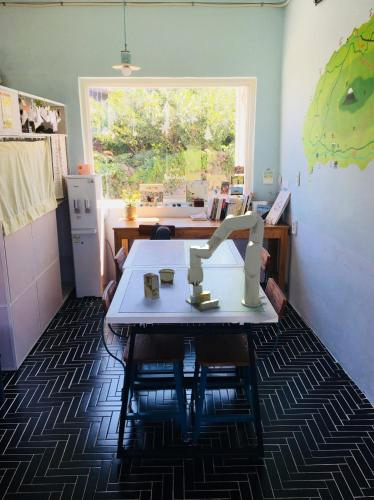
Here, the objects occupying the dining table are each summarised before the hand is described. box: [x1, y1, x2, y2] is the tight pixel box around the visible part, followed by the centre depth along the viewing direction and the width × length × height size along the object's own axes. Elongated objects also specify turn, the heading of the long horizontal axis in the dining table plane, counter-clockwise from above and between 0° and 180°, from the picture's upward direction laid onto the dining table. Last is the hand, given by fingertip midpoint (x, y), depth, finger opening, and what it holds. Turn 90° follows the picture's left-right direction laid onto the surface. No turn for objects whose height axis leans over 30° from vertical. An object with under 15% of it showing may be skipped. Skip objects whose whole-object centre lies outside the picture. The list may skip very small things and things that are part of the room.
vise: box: [185, 298, 221, 313], centre depth 267 cm, size 14×20×5 cm
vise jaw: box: [189, 284, 203, 303], centre depth 270 cm, size 12×6×9 cm, turn 118°
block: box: [196, 290, 211, 305], centre depth 266 cm, size 8×4×7 cm, turn 118°
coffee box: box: [142, 272, 160, 301], centre depth 278 cm, size 9×6×16 cm
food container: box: [158, 268, 176, 285], centre depth 306 cm, size 12×6×10 cm, turn 74°
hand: (195, 291), depth 274 cm, fingers closed
